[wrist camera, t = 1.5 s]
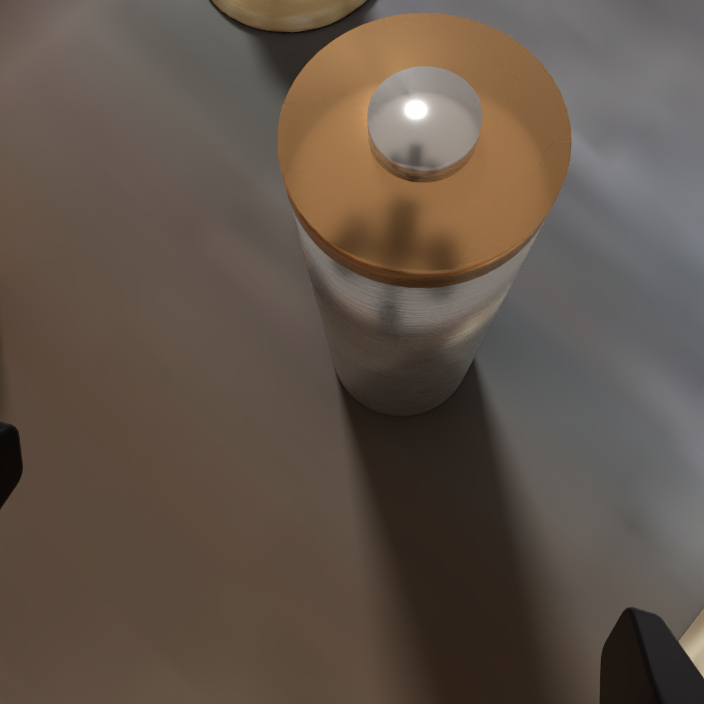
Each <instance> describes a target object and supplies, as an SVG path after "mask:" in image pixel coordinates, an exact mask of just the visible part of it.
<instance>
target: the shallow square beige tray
mask: <svg viewBox="0 0 704 704" xmlns="http://www.w3.org/2000/svg"><path fill="white" fill-rule="evenodd" d="M679 643H680V645H681V646H682V647H683V649H684V650H685V652H686V653H687V655H688V656H689V657H690V659H691V660H692V662H693V663H694V664H695V666H696V667H697V669H698V670H699V672H700V673H701V674H702V676H703V677H704V608H703V610H702V611H701V612H700V614H699V615H698V616H697V618H696V619H695V620H694V622H693V623H692V624H691V626H690V627H689V628H688V630H687V631H686V632H685V634H684V635H683V636H682V638H681V639H680V640H679Z"/></svg>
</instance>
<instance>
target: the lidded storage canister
mask: <svg viewBox="0 0 704 704" xmlns="http://www.w3.org/2000/svg"><path fill="white" fill-rule="evenodd" d="M277 148H278V159H279V163H280V168H281V172H282V176H283V180H284V183H285V187H286V191H287V194H288V198H289V202H290V205H291V209H292V213H293V216H294V220H295V223H296V227H297V231H298V234H299V238H300V242H301V245H302V249H303V253H304V256H305V260H306V264H307V267H308V271H309V275H310V278H311V282H312V286H313V289H314V293H315V297H316V300H317V304H318V308H319V311H320V315H321V319H322V322H323V326H324V330H325V333H326V337H327V341H328V344H329V348H330V352H331V355H332V359H333V363H334V366H335V370H336V372H337V375H338V377H339V379H340V381H341V383H342V384H343V386H344V387H345V389H346V390H347V391H348V392H349V393H350V394H351V395H352V396H353V398H355V399H356V400H357V401H358V402H360V403H361V404H362V405H364V406H366V407H367V408H369V409H372V410H374V411H376V412H379V413H382V414H386V415H392V416H411V415H417V414H421V413H424V412H427V411H429V410H432V409H434V408H435V407H437V406H439V405H441V404H442V403H443V402H445V401H446V400H447V399H448V398H449V397H450V396H451V395H452V394H453V393H454V392H455V391H456V389H457V388H458V387H459V385H460V384H461V382H462V380H463V378H464V376H465V374H466V373H467V371H468V369H469V367H470V365H471V363H472V361H473V359H474V357H475V355H476V353H477V351H478V349H479V347H480V345H481V343H482V341H483V340H484V338H485V336H486V334H487V332H488V330H489V328H490V326H491V324H492V322H493V320H494V318H495V316H496V314H497V312H498V310H499V309H500V307H501V305H502V303H503V301H504V299H505V297H506V295H507V293H508V291H509V289H510V287H511V285H512V283H513V281H514V279H515V277H516V276H517V274H518V272H519V270H520V268H521V266H522V264H523V262H524V260H525V258H526V256H527V254H528V252H529V250H530V248H531V246H532V245H533V243H534V241H535V239H536V237H537V235H538V233H539V231H540V229H541V227H542V225H543V223H544V221H545V219H546V217H547V215H548V213H549V212H550V210H551V208H552V206H553V204H554V202H555V200H556V198H557V196H558V194H559V192H560V190H561V187H562V185H563V182H564V180H565V177H566V174H567V170H568V166H569V162H570V154H571V127H570V121H569V117H568V112H567V108H566V106H565V103H564V100H563V98H562V95H561V93H560V91H559V89H558V87H557V85H556V84H555V82H554V80H553V78H552V77H551V75H550V74H549V73H548V72H547V70H546V69H545V68H544V66H543V65H542V64H541V63H540V62H539V61H538V60H537V59H536V58H535V57H534V56H533V55H532V53H531V52H529V51H528V50H527V49H526V48H524V47H523V46H522V45H521V44H519V43H518V42H517V41H515V40H514V39H512V38H511V37H509V36H507V35H506V34H504V33H502V32H501V31H498V30H496V29H494V28H492V27H490V26H488V25H485V24H483V23H480V22H477V21H474V20H470V19H467V18H463V17H458V16H453V15H447V14H437V13H411V14H402V15H395V16H390V17H386V18H382V19H377V20H375V21H372V22H369V23H366V24H363V25H361V26H358V27H356V28H354V29H352V30H350V31H348V32H346V33H344V34H343V35H341V36H339V37H338V38H336V39H335V40H333V41H332V42H330V43H329V44H328V45H326V46H325V47H324V48H323V49H322V50H320V51H319V52H318V53H317V54H316V55H315V56H314V57H313V58H312V59H311V60H310V61H309V62H308V63H307V64H306V65H305V67H304V68H303V69H302V71H301V72H300V73H299V75H298V76H297V78H296V79H295V81H294V83H293V84H292V86H291V88H290V90H289V92H288V94H287V96H286V99H285V102H284V104H283V107H282V110H281V115H280V119H279V124H278V135H277Z"/></svg>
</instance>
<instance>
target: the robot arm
mask: <svg viewBox="0 0 704 704" xmlns="http://www.w3.org/2000/svg"><path fill="white" fill-rule="evenodd" d="M22 470H23V463H22V455H21V446H20V438H19V432H18V430H17V429H16V427H15V426H13V425H11V424H7V423H4V422H0V509H1V508H2V506H3V505H4V503H5V502H6V500H7V499H8V497H9V496H10V494H11V493H12V491H13V490H14V488H15V487H16V486H17V484H18V482H19V480H20V478H21V475H22ZM600 704H704V677H703V676H702V674H701V673H700V672H699V670H698V669H697V667H696V666H695V664H694V663H693V662H692V660H691V659H690V657H689V656H688V655H687V653H686V652H685V650H684V649H683V647H682V646H681V645H680V643H679V642H678V640H677V639H676V637H675V636H674V635H673V633H672V632H671V630H670V629H669V628H668V626H667V625H666V623H665V622H664V621H663V619H662V618H661V617H659V616H658V615H656V614H654V613H650V612H647V611H644V610H640V609H637V608H633V607H629V608H626V609H625V610H624V611H623V613H622V614H621V616H620V617H619V619H618V621H617V623H616V624H615V626H614V628H613V630H612V631H611V633H610V635H609V637H608V638H607V640H606V642H605V644H604V647H603V650H602V655H601V669H600Z"/></svg>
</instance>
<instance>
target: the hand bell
mask: <svg viewBox="0 0 704 704" xmlns="http://www.w3.org/2000/svg"><path fill="white" fill-rule="evenodd" d="M211 1H212V2H213V3H214V4H215V5H216V6H217V7H218V8H219V9H220V10H221V11H222V12H224V13H226V14H227V15H228V16H229V17H231V18H233V19H235V20H237V21H239V22H241V23H243V24H245V25H248V26H251V27H254V28H257V29H261V30H267V31H277V32H299V31H306V30H310V29H316V28H320V27H323V26H326V25H329V24H331V23H333V22H335V21H337V20H340V19H342V18H344V17H345V16H347V15H348V14H349V13H351V12H353V11H354V10H355V9H356V8H358V7H360V6H361V5H362V4H363V3H364V2H366V1H367V0H211Z"/></svg>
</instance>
